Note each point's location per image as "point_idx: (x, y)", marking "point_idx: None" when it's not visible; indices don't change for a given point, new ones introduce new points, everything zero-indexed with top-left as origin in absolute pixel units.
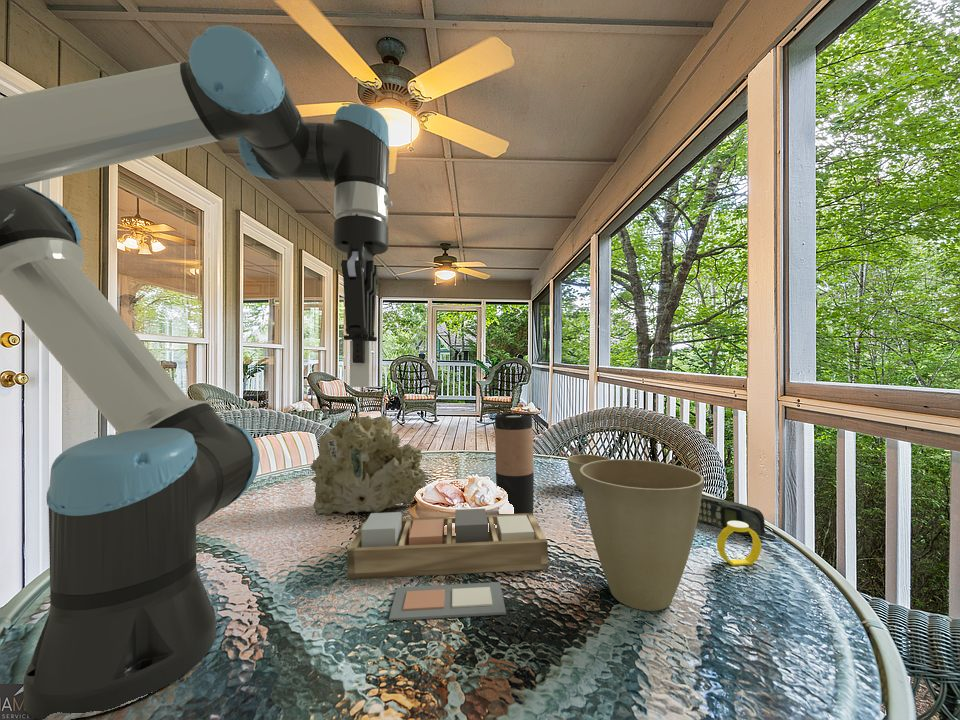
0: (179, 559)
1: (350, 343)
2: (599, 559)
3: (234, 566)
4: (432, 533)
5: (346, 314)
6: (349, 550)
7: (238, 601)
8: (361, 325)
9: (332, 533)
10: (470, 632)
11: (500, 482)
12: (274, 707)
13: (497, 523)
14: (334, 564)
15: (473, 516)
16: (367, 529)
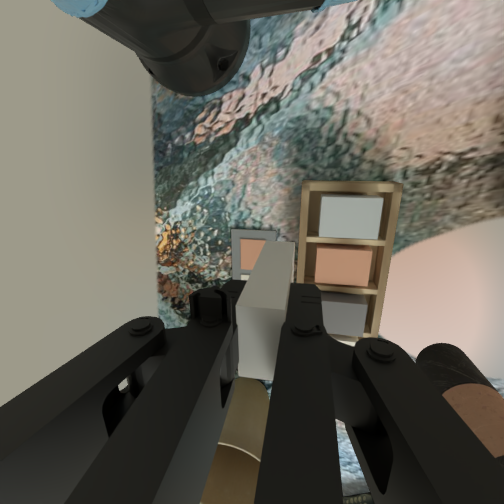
0: (146, 54)
1: (238, 301)
2: (245, 389)
3: (363, 15)
4: (323, 272)
5: (49, 382)
6: (303, 184)
7: (274, 76)
8: (117, 398)
9: (449, 122)
10: (216, 283)
11: (451, 376)
12: (156, 172)
13: (354, 338)
14: (341, 155)
15: (338, 321)
16: (321, 204)
